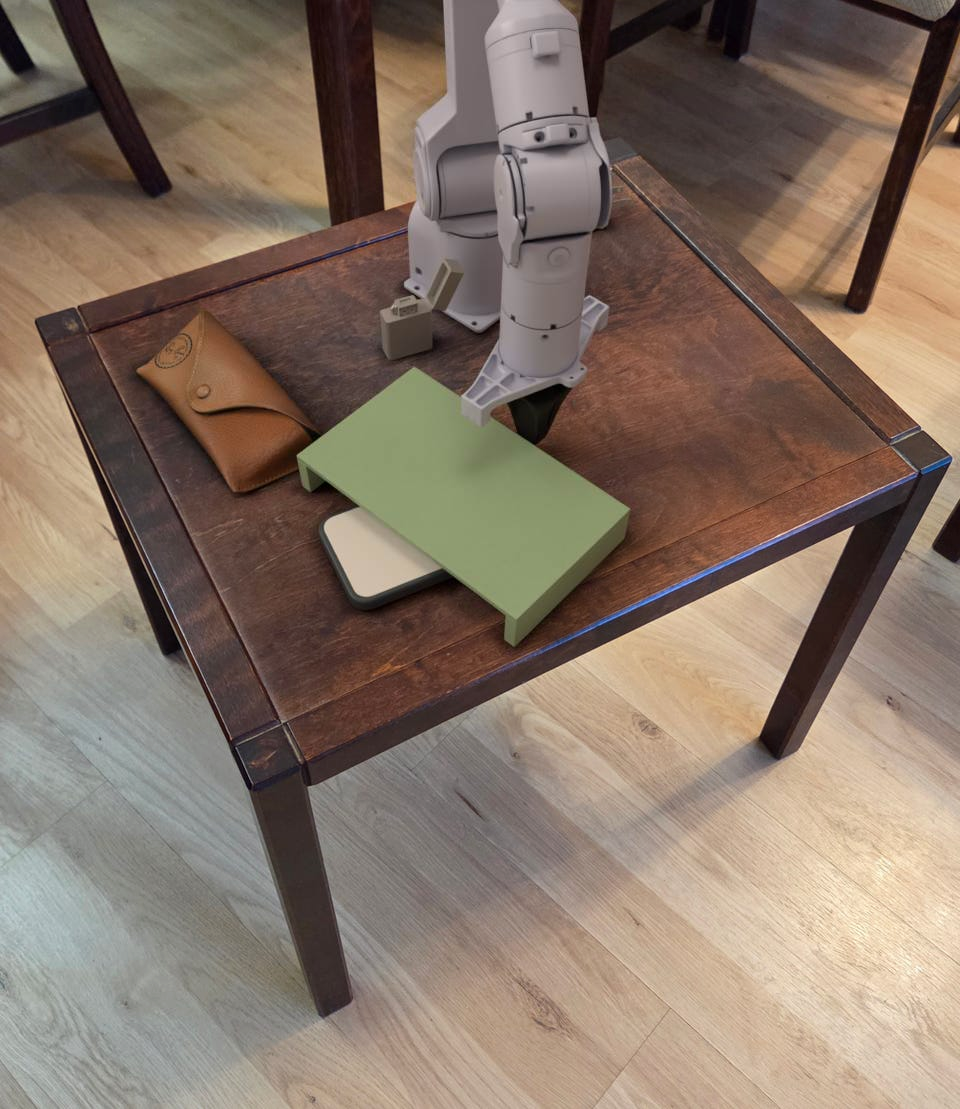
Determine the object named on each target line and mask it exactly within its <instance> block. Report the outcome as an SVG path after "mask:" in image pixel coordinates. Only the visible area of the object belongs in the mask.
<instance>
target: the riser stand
mask: <svg viewBox="0 0 960 1109" xmlns="http://www.w3.org/2000/svg"><path fill="white" fill-rule="evenodd" d="M297 460H298V466H299V470H298V471H299V475H300V481H301V486H302V487H303V488H304V489H305V490H307V491H308V492H309V493H312V492H314V491H315V490H316V489H318V488H319V487H320V486H321V485H323V484H324V483H325V482H327V483H328V484H330V485H331V486H332V487H333V488H334V489H336V490H337V491H339V493H341V494H343V495H344V496H346V497H347V498H348V499H350V500H351V501H352V502H353V503H354V504H356V505H359V506H360V507H362V508H363V509H364V510H366V511H367V512H368V513H370V514H371V515H372V516H374V517H375V518H376V519H378V520H379V521H380V522H382V523H383V524H384V525H386V526H387V527H388V528H390V529H391V530H392V531H394V532H395V533H396V534H398V535H399V536H400V537H402V538H403V539H404V540H406V541H407V542H408V543H410V544H411V545H412V546H414V547H415V548H416V549H418V550H419V551H420V552H422V553H423V554H424V555H426V556H427V557H428V558H430V559H431V560H432V561H434V562H435V563H436V564H438V565H439V566H440V567H442V568H443V569H444V570H446V571H447V572H448V573H450V574H451V575H452V576H454V577H453V578H455V579H456V580H458V581H459V582H460V583H462V584H463V585H464V586H466V588H468V589H470V590H471V591H473V592H474V593H475V594H477V596H480V598H481V599H483V600H484V601H486V602H487V603H488V604H490V605H492V607H493V608H495V609H497V611H499V612H500V613H502V614H503V615H504V616H505V620H504V633H503V634H504V635H503V636H504V637H503V640H504V641H505V642H506V643H508V644H510V645H511V646H512V647H514V648H515V647H517V645H518V644H520V642H521V641H523V640H524V638H526V637H527V635H529V633H531V632H532V631H533V630H534V629H535V628H536V627H537V626H538V625H539V624H540V623H541V622H542V621H543V620H544V619H545V618H546V617H547V616H548V615H549V614H550V613H551V612H552V611H553V609H555V608H556V607H557V606H558V605H559V604H560V603H561V602H562V601H564V599H565V598H566V597H567V596H568V595H569V594H570V593H571V592H572V591H573V590H574V589H575V588H576V587H577V586H578V585H579V584H581V582H582V581H583V580H585V579H586V577H588V575H589V574H591V573H592V571H593V570H594V569H595V568H597V567H598V565H600V563H601V562H603V561H604V560H605V559H606V558H607V557H608V556H609V554H611V553H612V552H613V551H614V550H615V549H616V548H617V547H618V546H619V545H620V544H621V543H622V542H623V541H624V540H625V538H626V532H627V528H628V524H629V518H630V513H631V508H630V507H629V506H627V505H626V504H624V503H623V502H621V501H619V500H618V499H616V497H613V496H612V495H611V494H609V493H608V492H606V491H604V490H602V488H600V487H598V486H597V485H595V484H594V483H593V482H591V481H589V480H588V479H586V478H584V477H583V476H581V474H578V473H577V472H576V471H574V470H572V469H571V468H569V467H568V466H567V465H565V464H563V463H562V462H561V461H559V460H557V459H556V458H554V457H553V456H551V455H550V454H548V453H547V452H546V451H544V450H542V449H540V448H539V447H538V446H537V445H533V444H532V443H530V442H529V441H527V440H526V439H524V438H523V437H521V436H520V435H518V434H517V432H515V431H514V430H512V429H510V428H509V427H507V426H506V425H505V424H502V422H500V421H498V420H497V419H496V418H494V417H492V416H490V421H489V422H488V423H487V424H486V425H485V426H483V427H480V426H478V425H477V424H475V423H473V422H472V421H470V420H469V419H468V418H466V417H465V416H463V415H462V414H461V396H460V395H458V394H457V393H456V392H454V391H452V390H451V389H449V388H448V387H446V386H445V385H443V384H442V383H441V382H439V381H437V380H436V379H434V378H432V376H430V375H428V374H427V373H426V372H424V371H422V370H420V369H419V368H418V367H416V366H413V367H412V368H411V369H409V370H408V371H407V372H405V373H404V374H402V375H401V376H400V377H398V378H397V379H396V380H394V381H393V382H392V383H390V384H389V385H388V386H387V387H385V388H384V389H382V390H381V391H380V392H379V393H377V394H376V395H375V396H373V397H372V398H371V399H369V400H368V401H367V402H365V403H364V404H363V405H361V406H360V407H359V408H357V409H356V410H355V411H353V412H352V413H351V414H349V415H348V416H347V417H346V418H344V419H343V420H341V421H340V422H339V423H338V424H336V425H335V426H333V427H332V428H331V429H329V430H328V431H327V432H325V433H324V434H322V437H320V438H319V439H318V440H316V441H315V442H314V443H312V444H311V445H310V446H308V447H307V448H306V449H304V450H303V451H302V452H300V453H299V454H298V455H297Z"/></svg>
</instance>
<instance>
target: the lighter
mask: <svg viewBox="0 0 960 1109" xmlns="http://www.w3.org/2000/svg"><path fill="white" fill-rule="evenodd" d="M463 274H464V270H463V268H462V267H461V265H460V264H459V262H458V261H457V260H451V259H442V261H441V263H440V266H439V268H438V270H437V272H436V274H435V276H434V278H433V281H432V283H431V285H430V287H429V289H428V291H427V293H426V296H425V299H423V298H422V299H421V298H419V299H417V298H416V296H415V294H411V295H408V296H404V297H401V298H397V299H394V300H393V301H394V302H393V304H392V305H391V306H390V307H386V308H384V309H380V311H379V318H380V329H381V330H380V332H381V341H382V342H381V344H382V346H381V347H382V351H383V352H384V355H385V356H386V358H387V360H388V361H394V360H398V359H402V358H404V357H408V356H413V355H415V354H419V353H423V352H425V351H429V350H432V349H433V314H432V312H433V311H432V310H435V311H440V312H442V311H446V309H447V307H448V305H449V303H450V301H451V299H452V297H453V295H454V293H455V291H456V289H457V287H458V285H459V283H460V281H461V279H462V277H463Z"/></svg>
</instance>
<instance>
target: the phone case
mask: <svg viewBox="0 0 960 1109" xmlns="http://www.w3.org/2000/svg"><path fill="white" fill-rule="evenodd" d="M317 533H318V539H319V541H320V544H321V545H322V548H323V549H324V551H325V554H326V555H327V558H328V560H329V562H330V564H331V566H332V569H333V571H334V572H335V574H336V576H337V578H338V580H339V583H340V584H341V586H342V588H343V590H344V592H345V594H346V596H347V598H348V600H349V603H350V604H351V605H352V606H353V607H354V608H355V609H357V610H359V611H373V610H375V609H377V608H380V607H383V606H384V605H387V604H389V603H392V602H394V601H397V600H399V599H402V598H404V597H407V596H411V595H412V594H414V593H417V592H419V591H422V590H424V589H427V588H430V587H432V586H435V585H437V584H440V583H442V582H445V581H447V580H449V579H452V578H455V577H454V576H452V575H451V574H450V573H448V572H447V571H446V570H444V569H443V568H442V567H440V566H439V565H438V564H436V563H435V562H434V561H432V560H431V559H430V558H428V557H427V556H426V555H424V554H423V553H422V552H420V551H419V550H418V549H416V548H415V547H414V546H412V545H411V544H410V543H408V542H407V541H406V540H404V539H403V538H402V537H400V536H399V535H398V534H396V533H395V532H394V531H392V530H391V529H390V528H388V527H387V526H386V525H384V524H383V523H382V522H380V521H379V520H378V519H376V518H375V517H374V516H372V515H371V514H370V513H368V512H367V511H366V510H364V509H363V508H362V507H360V506H359V505H358V504H356V505H355V506H352V507H349V508H347V509H344V510H341V511H338V512H335V513H333V514H331V515H329V516H326V517H324V518H323V519H322V520H321V521H320V522H319V524H318V526H317Z"/></svg>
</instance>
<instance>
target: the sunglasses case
mask: <svg viewBox="0 0 960 1109" xmlns="http://www.w3.org/2000/svg"><path fill="white" fill-rule="evenodd" d="M136 374H137V375H138V376H139V377H140V378H141V379H142V380H143V381H144V382H145V383H146V384H148V385H149V386H150V387H151V388H152V389H153V390H155V391H156V392H157V393H158V395H160V396H161V398H162V399H164V401H165V402H166V403H167V404H168V405H169V406H170V408H171V409H172V410H173V411H174V413H175V414H176V415H177V416H178V417H179V419H180V420H181V422H183V424H184V425H185V426H186V428H188V430H189V431H190V433H192V435H193V436H194V438H195V439H196V440H197V442H198V443H199V445H201V447H202V448H203V449H204V450H205V452H206V453H207V454H208V456H209V457H210V458H211V460H212V461H213V463H214V464H215V466H216V467H217V469H218V470H219V472H220V474H221V476H222V477H223V479H224V481H225V482H226V484H227V486H228V488H229V489H230V491H231V492H232V493H233V494H247V493H249V492H252V491H254V490H258V489H260V488H262V487H265V486H267V485H270V484H273V483H274V482H277V481H278V480H281V479H283V478H285V477H287V476H290V475H291V474H293V473H296V472H297V471H299V466H298V460H297V455H298V454H299V453H300V452H302V451H303V450H304V449H306V448H307V447H308V446H310V445H311V444H312V443H314V442H315V441H316V440H318V439H319V438H320V437H322V436H323V434H322V433H321V432H320V430H318V429H317V428H316V426H315V425H314V424H313V423H312V422H311V420H310V419H309V418H308V417H307V415H306V414H305V413H304V412H303V411H302V410H301V408H300V407H299V406H298V404H296V402H295V401H294V400H293V399H292V398H291V396H289V394H288V393H287V392H286V391H285V390H284V389H283V387H282V386H281V385H280V384H279V383H278V382H277V381H276V380H275V379H274V378H273V377H272V376H271V375H270V373H268V371H267V370H266V369H265V368H264V367H263V366H262V365H261V364H260V362H259V361H258V360H257V359H256V357H254V356H253V355H252V354H251V353H250V352H249V350H248V349H247V348H246V347H245V346H244V345H243V344H242V343H241V341H239V340H238V339H237V337H236V336H235V335H234V334H233V333H232V332H231V331H230V330H229V329H227V327H225V325H224V324H222V323H221V322H220V321H219V320H218V319H217V318H216V317H215V316H214V315H213V314H212V313H211V312H210V311H209V310H207V309H206V308H204V307H203V308H199V309H198V314H197V315H196V316H194V317H193V319H191V320H190V321H189V323H188V324H186V325H185V326H184V327H183V328H182V329H181V330H180V331H179V332H178V333H177V334H176V335H175V336H174V337H173V338H172V339H171V340H170V341H169V342H168V343H167V344H166V345H164V346H163V348H162V349H160V351H159V352H157V353H156V355H155V356H154V357H152V358H151V360H149V361H148V363H146V364H143V365H141V366H139V367H137V368H136Z"/></svg>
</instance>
